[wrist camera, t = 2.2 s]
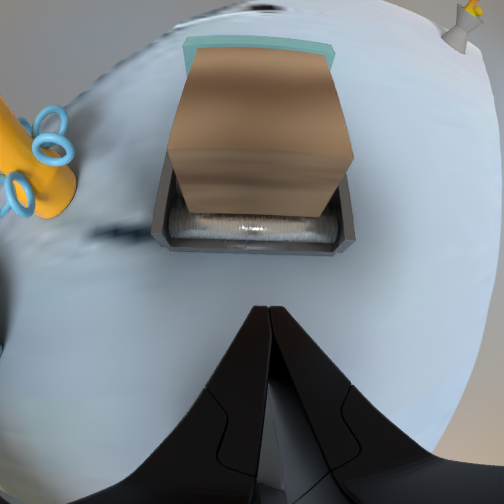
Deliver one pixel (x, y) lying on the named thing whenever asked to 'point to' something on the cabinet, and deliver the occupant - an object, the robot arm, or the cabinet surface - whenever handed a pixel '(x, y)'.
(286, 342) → the robot arm
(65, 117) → the orange post with rings
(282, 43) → the stop bar
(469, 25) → the lava lamp
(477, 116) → the cabinet surface
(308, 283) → the cabinet surface
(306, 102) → the brown wooden block
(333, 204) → the roller bed
